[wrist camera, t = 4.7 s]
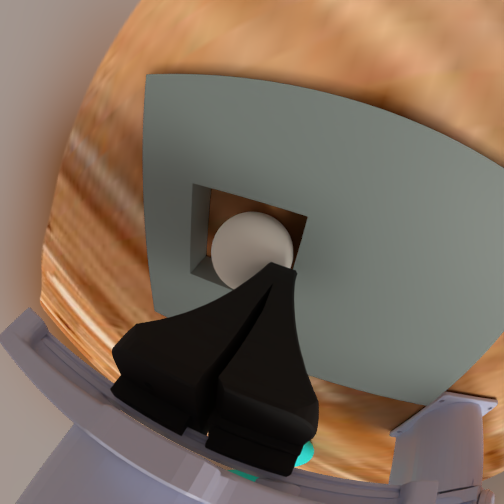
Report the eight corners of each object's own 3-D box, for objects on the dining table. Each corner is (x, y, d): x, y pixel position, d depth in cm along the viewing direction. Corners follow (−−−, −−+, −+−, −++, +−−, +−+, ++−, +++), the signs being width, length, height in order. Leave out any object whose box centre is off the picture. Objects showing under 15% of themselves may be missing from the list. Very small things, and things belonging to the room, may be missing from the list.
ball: (195, 292, 14) (225, 248, 17) (271, 321, 13) (288, 271, 16) (199, 226, 11) (234, 189, 14) (294, 258, 11) (308, 212, 14)
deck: (427, 384, 16) (427, 405, 15) (169, 295, 21) (154, 310, 20) (552, 205, 7) (570, 221, 6) (170, 74, 12) (146, 74, 10)
